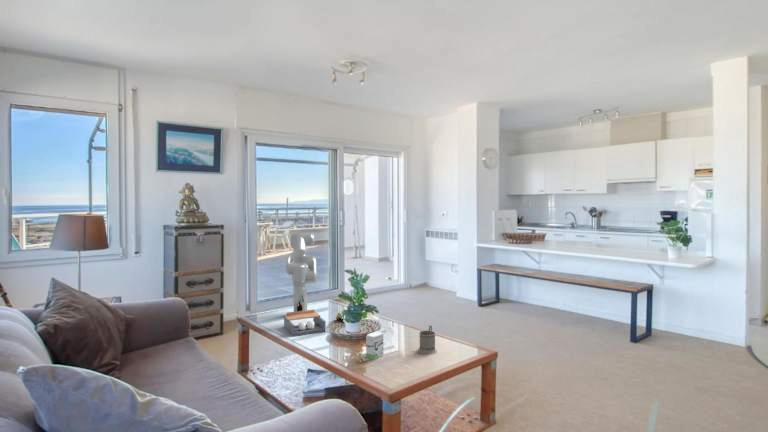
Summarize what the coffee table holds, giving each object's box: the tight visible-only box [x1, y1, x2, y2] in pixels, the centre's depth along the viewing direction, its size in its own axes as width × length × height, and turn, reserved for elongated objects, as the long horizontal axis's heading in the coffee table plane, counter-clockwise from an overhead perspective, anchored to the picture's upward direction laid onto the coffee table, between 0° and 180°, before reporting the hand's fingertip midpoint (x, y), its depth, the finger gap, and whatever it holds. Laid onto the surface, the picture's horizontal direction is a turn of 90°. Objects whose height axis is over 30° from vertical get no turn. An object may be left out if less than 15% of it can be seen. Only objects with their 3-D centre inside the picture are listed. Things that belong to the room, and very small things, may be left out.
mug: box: [417, 324, 437, 355], centre depth 225 cm, size 14×10×12 cm
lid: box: [284, 309, 321, 322], centre depth 267 cm, size 10×20×3 cm, turn 116°
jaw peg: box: [298, 321, 307, 331], centre depth 256 cm, size 4×4×6 cm
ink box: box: [365, 330, 384, 361], centre depth 215 cm, size 9×5×12 cm, turn 143°
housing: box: [283, 316, 327, 337], centre depth 263 cm, size 23×20×7 cm
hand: (299, 312), depth 273 cm, fingers closed
